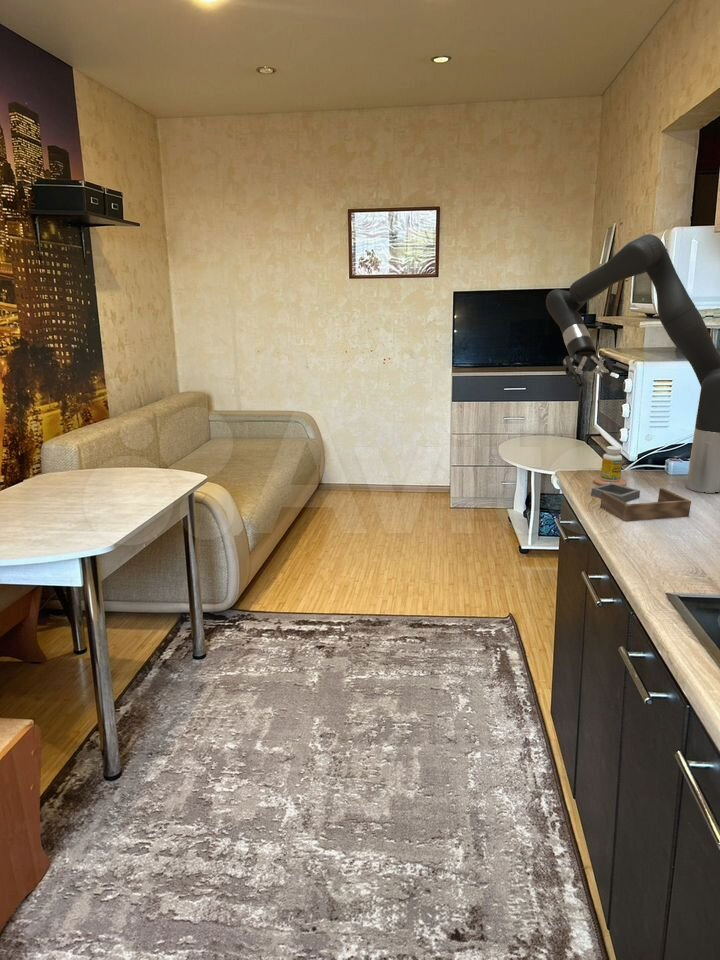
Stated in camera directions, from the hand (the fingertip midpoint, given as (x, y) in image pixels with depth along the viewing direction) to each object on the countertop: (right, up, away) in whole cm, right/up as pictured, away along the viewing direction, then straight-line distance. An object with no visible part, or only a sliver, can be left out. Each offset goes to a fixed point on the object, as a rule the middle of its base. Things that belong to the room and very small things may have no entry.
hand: (595, 386), depth 198 cm
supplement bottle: (+4, -28, -1) cm, 28 cm away
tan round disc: (+4, -28, -1) cm, 29 cm away
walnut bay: (+4, -35, -25) cm, 43 cm away
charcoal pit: (+1, -32, -13) cm, 35 cm away
